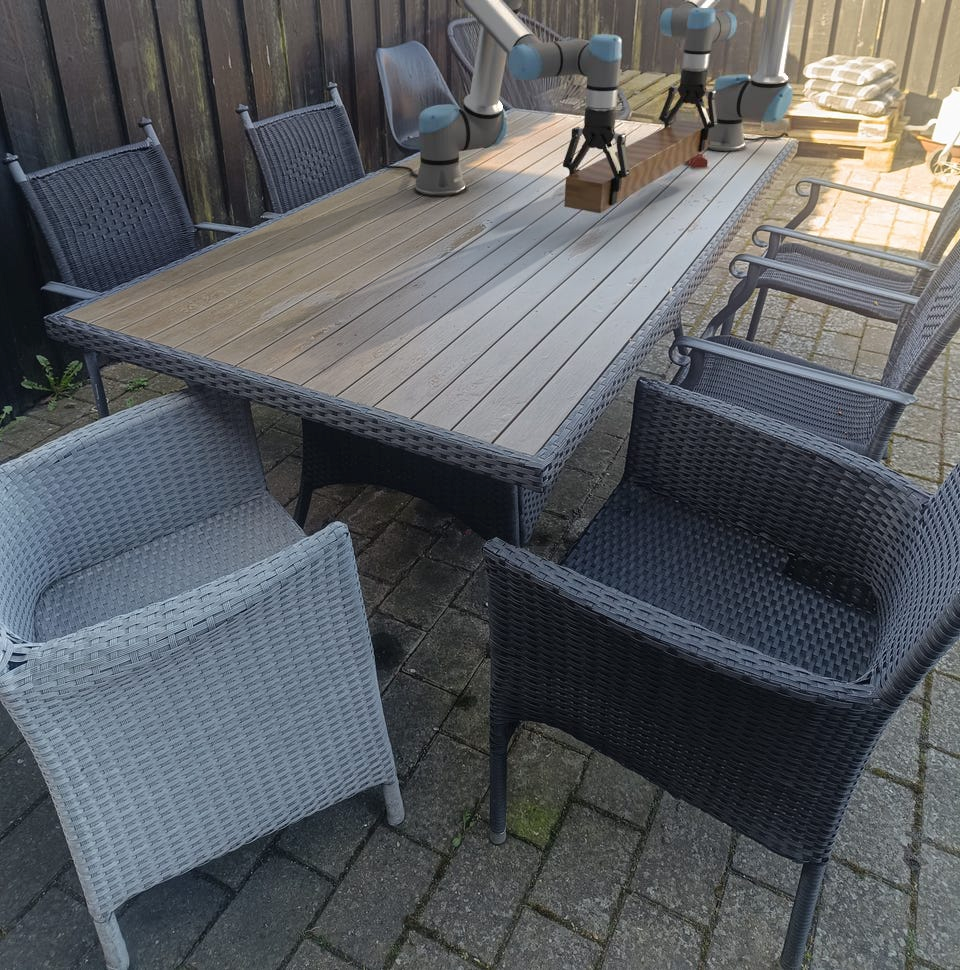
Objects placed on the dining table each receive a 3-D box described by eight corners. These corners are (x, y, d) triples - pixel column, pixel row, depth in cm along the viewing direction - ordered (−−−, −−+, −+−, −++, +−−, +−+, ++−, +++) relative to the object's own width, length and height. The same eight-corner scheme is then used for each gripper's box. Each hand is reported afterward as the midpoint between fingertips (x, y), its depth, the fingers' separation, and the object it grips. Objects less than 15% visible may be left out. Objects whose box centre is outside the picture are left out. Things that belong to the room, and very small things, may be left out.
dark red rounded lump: (699, 148, 281) (710, 154, 275) (697, 161, 284) (708, 168, 277) (683, 150, 280) (694, 156, 274) (682, 163, 283) (692, 170, 276)
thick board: (600, 213, 210) (602, 183, 206) (564, 206, 214) (565, 177, 210) (707, 149, 261) (710, 124, 257) (676, 144, 266) (679, 119, 261)
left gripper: (650, 110, 200) (640, 203, 213) (566, 99, 211) (561, 189, 223) (637, 116, 195) (628, 211, 208) (551, 104, 205) (547, 196, 218)
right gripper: (737, 70, 243) (724, 150, 256) (663, 63, 253) (654, 140, 266) (728, 74, 238) (715, 156, 251) (653, 67, 248) (644, 145, 261)
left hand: (593, 200), depth 216 cm, fingers closed on thick board, 10 cm apart
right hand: (684, 148), depth 258 cm, fingers closed on thick board, 10 cm apart
